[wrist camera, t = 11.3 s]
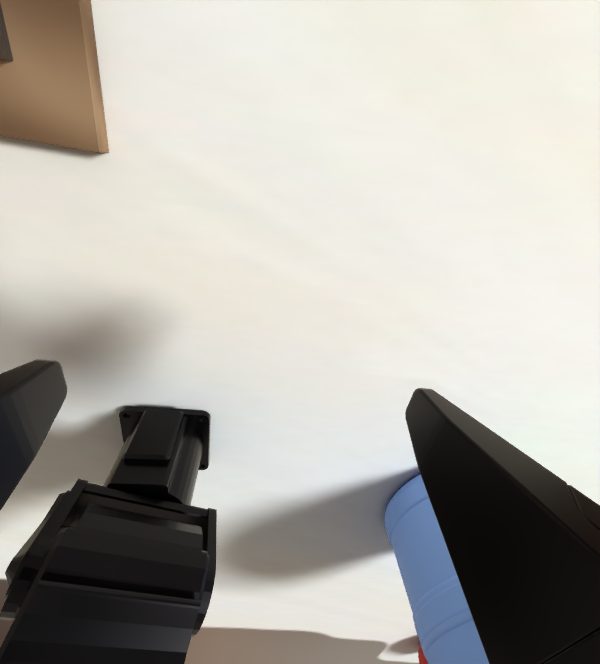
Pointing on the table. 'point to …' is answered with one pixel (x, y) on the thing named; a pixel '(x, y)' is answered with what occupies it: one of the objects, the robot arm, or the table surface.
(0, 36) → the grey cube shelf
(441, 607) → the water jug
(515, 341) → the table surface
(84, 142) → the post block
